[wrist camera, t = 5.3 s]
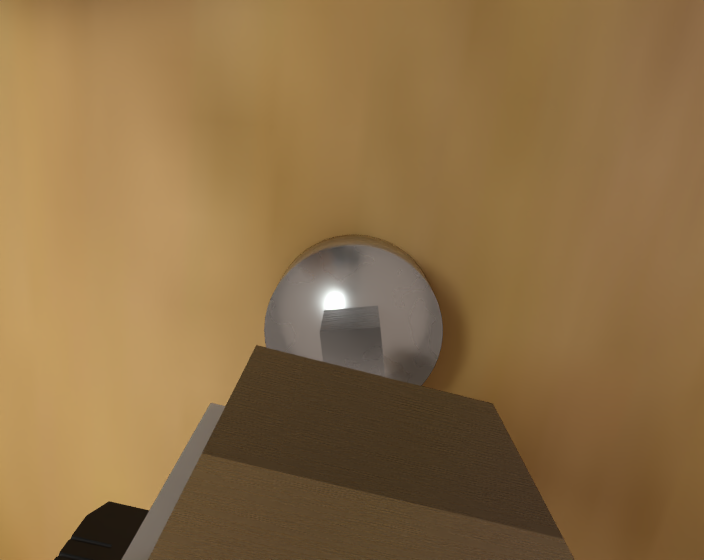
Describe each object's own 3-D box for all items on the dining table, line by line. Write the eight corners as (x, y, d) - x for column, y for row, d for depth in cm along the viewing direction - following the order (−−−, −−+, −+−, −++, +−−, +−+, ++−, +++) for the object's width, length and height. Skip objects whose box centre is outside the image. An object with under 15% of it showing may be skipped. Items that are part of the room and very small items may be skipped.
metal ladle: (264, 242, 28) (238, 269, 22) (428, 227, 27) (447, 249, 22) (310, 589, 32) (300, 687, 27) (452, 578, 32) (473, 675, 26)
